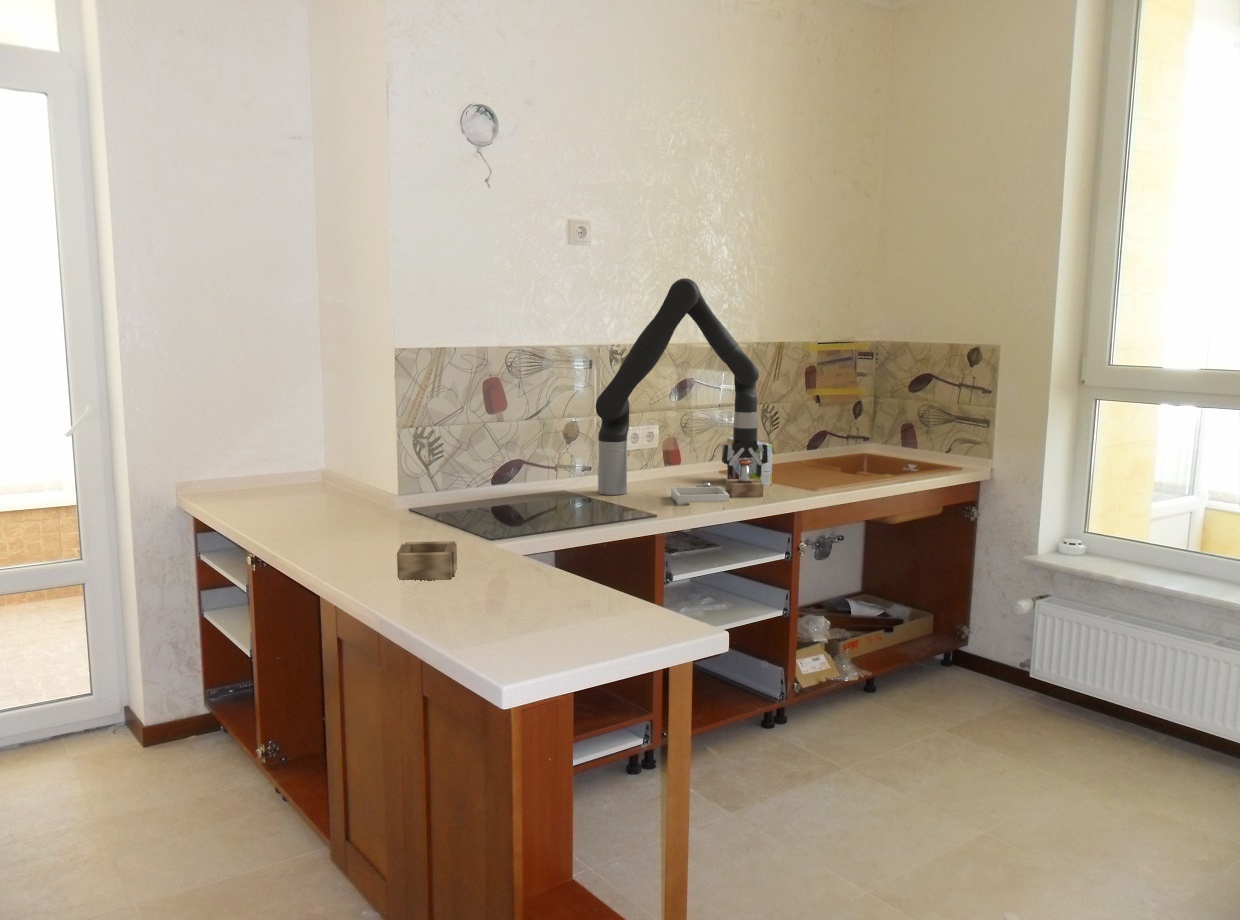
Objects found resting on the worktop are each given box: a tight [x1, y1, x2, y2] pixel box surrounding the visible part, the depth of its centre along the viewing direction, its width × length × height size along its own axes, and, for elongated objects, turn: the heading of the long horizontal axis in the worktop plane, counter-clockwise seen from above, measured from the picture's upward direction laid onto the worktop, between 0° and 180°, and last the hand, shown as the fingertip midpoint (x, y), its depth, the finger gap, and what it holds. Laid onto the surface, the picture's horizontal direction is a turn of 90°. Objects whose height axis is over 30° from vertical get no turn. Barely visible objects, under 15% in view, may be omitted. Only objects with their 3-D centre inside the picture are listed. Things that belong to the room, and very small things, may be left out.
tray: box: [670, 486, 730, 506], centre depth 300 cm, size 16×14×3 cm
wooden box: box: [724, 478, 764, 499], centre depth 305 cm, size 10×10×5 cm
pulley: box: [695, 482, 718, 487], centre depth 310 cm, size 7×7×4 cm
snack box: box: [726, 436, 773, 487], centre depth 329 cm, size 21×6×15 cm, turn 25°
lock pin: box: [738, 459, 751, 483], centre depth 305 cm, size 4×4×11 cm
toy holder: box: [396, 540, 458, 581], centre depth 210 cm, size 12×12×7 cm
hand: (744, 476), depth 305 cm, fingers open, 8 cm apart
